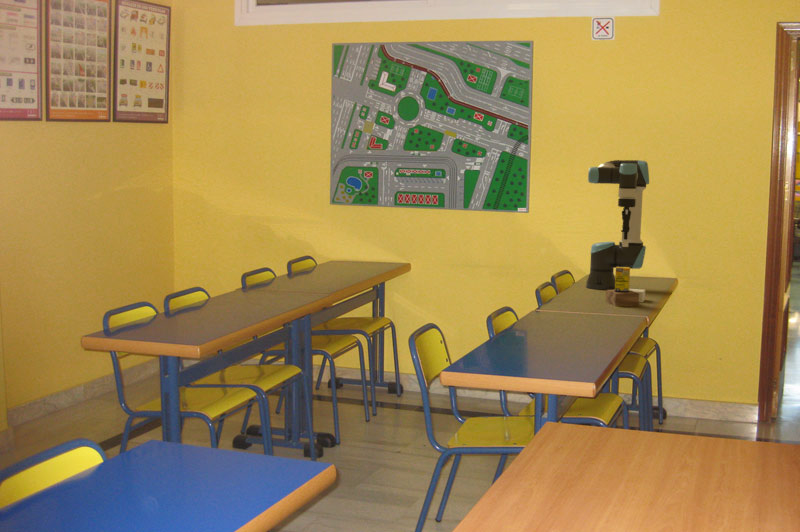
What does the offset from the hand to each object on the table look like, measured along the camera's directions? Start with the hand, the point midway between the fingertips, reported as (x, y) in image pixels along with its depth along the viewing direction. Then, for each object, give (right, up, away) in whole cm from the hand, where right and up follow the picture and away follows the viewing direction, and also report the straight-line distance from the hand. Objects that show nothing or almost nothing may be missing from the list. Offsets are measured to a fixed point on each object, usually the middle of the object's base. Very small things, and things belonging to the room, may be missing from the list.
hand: (624, 245), depth 390 cm
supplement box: (-1, -21, +2) cm, 21 cm away
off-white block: (+8, -26, +13) cm, 30 cm away
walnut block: (-1, -27, +3) cm, 27 cm away
